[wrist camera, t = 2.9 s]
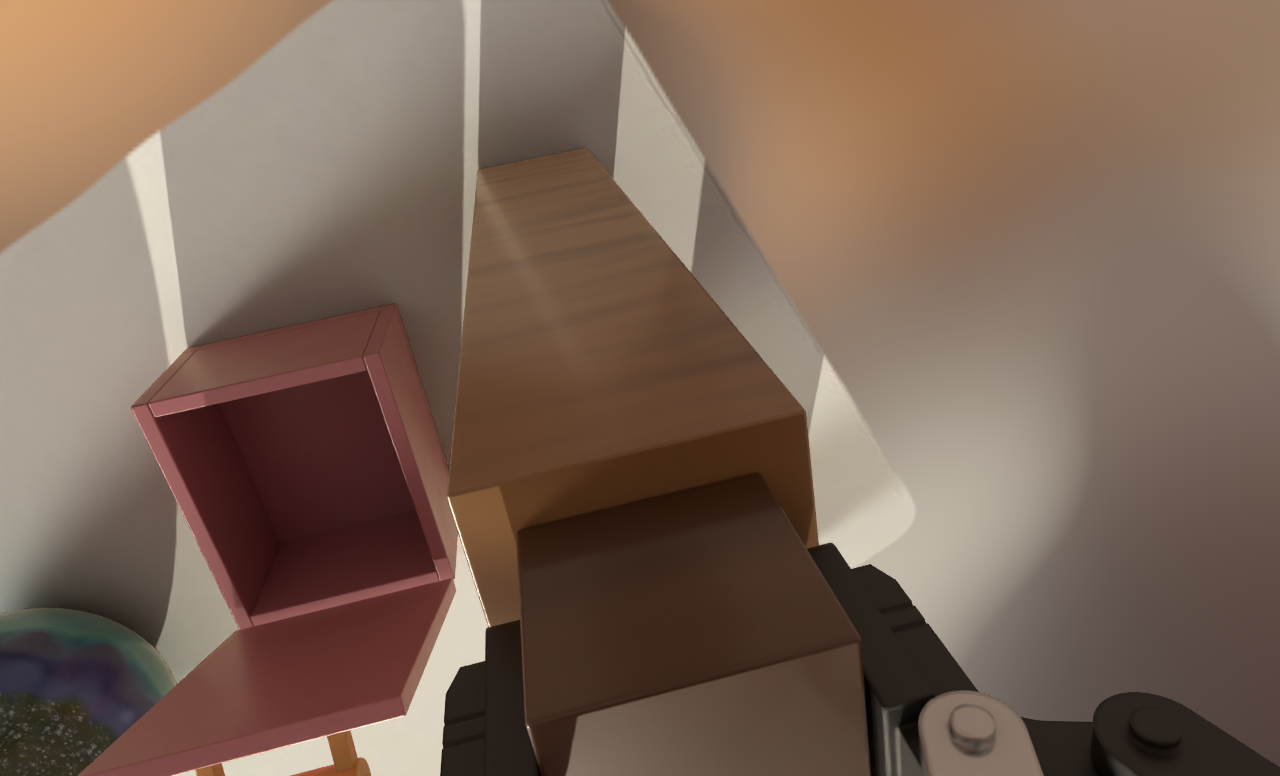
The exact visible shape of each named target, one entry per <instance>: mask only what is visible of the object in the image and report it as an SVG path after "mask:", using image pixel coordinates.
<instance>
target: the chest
mask: <svg viewBox="0 0 1280 776" xmlns="http://www.w3.org/2000/svg"><path fill="white" fill-rule="evenodd" d="M131 409H132V411H133V413H134V415H135V417H136V419H137V421H138V423H139V425H140V427H141V429H142V431H143V433H144V436H145V438H146V440H147V442H148V444H149V446H150V448H151V450H152V452H153V454H154V456H155V458H156V460H157V462H158V464H159V466H160V468H161V470H162V472H163V474H164V476H165V478H166V480H167V482H168V485H169V487H170V489H171V491H172V493H173V495H174V497H175V499H176V501H177V503H178V505H179V507H180V509H181V511H182V513H183V515H184V517H185V519H186V521H187V523H188V525H189V527H190V529H191V531H192V534H193V536H194V538H195V540H196V542H197V544H198V546H199V548H200V550H201V552H202V554H203V556H204V558H205V560H206V562H207V564H208V566H209V568H210V570H211V572H212V574H213V576H214V578H215V580H216V582H217V585H218V587H219V589H220V591H221V593H222V595H223V597H224V599H225V601H226V603H227V605H228V607H229V609H230V611H231V613H232V615H233V617H234V619H235V621H236V623H237V625H238V627H239V629H240V630H241V629H245V628H249V627H253V626H257V625H261V624H266V623H270V622H274V621H278V620H282V619H286V618H290V617H294V616H298V615H302V614H306V613H311V612H315V611H319V610H323V609H327V608H331V607H335V606H339V605H343V604H347V603H352V602H356V601H360V600H364V599H368V598H372V597H376V596H380V595H384V594H388V593H392V592H397V591H401V590H405V589H409V588H413V587H417V586H421V585H425V584H429V583H433V582H438V581H442V580H446V579H450V578H453V579H455V567H456V552H457V537H458V531H457V527H456V524H455V521H454V518H453V515H452V512H451V509H450V506H449V503H448V500H447V488H448V477H449V469H448V465H447V462H446V459H445V456H444V453H443V450H442V446H441V443H440V440H439V437H438V434H437V431H436V427H435V424H434V421H433V418H432V415H431V412H430V408H429V405H428V402H427V399H426V396H425V393H424V389H423V386H422V383H421V380H420V377H419V374H418V370H417V367H416V364H415V361H414V358H413V355H412V351H411V348H410V345H409V342H408V339H407V336H406V332H405V329H404V326H403V323H402V320H401V317H400V313H399V310H398V307H397V304H396V303H395V304H390V305H386V306H381V307H376V308H372V309H367V310H362V311H358V312H353V313H348V314H344V315H339V316H335V317H330V318H325V319H321V320H316V321H311V322H307V323H302V324H297V325H293V326H288V327H284V328H279V329H274V330H270V331H265V332H260V333H256V334H251V335H246V336H242V337H237V338H233V339H228V340H223V341H219V342H214V343H209V344H205V345H200V346H195V347H191V348H187V349H186V350H185V351H184V352H183V353H182V354H181V355H180V356H179V357H178V358H177V359H176V361H175V362H174V363H173V364H172V365H171V366H170V367H169V368H168V369H167V370H166V371H165V372H164V373H163V374H162V375H161V376H160V377H159V378H158V379H157V380H156V381H155V382H154V383H153V384H152V385H151V387H150V388H149V389H148V390H147V391H146V392H145V393H144V394H143V395H142V396H141V397H140V398H139V399H138V400H137V401H136V402H135V403H134V404H133V405H132V406H131Z"/></svg>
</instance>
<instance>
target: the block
mask: <svg viewBox="0 0 1280 776" xmlns="http://www.w3.org/2000/svg"><path fill="white" fill-rule="evenodd" d="M516 548H517V568H518V588H519V608H520V629H521V649H522V669H523V689H524V710H525V726H526V729H527V732H528V735H529V738H530V741H531V744H532V748H533V751H534V754H535V757H536V760H537V763H538V766H539V770H540V773H541V776H871V767H870V754H869V740H868V727H867V713H866V700H865V686H864V673H863V659H862V646H861V637H860V635H859V634H858V632H857V630H856V629H855V627H854V625H853V624H852V622H851V620H850V619H849V617H848V616H847V614H846V612H845V611H844V609H843V607H842V606H841V604H840V602H839V601H838V599H837V598H836V596H835V594H834V593H833V591H832V589H831V588H830V586H829V584H828V583H827V581H826V580H825V578H824V576H823V575H822V573H821V571H820V570H819V568H818V566H817V565H816V563H815V562H814V560H813V558H812V557H811V555H810V553H809V552H808V550H807V548H806V547H805V545H804V544H803V542H802V540H801V539H800V537H799V535H798V534H797V532H796V530H795V529H794V527H793V526H792V524H791V522H790V521H789V519H788V517H787V516H786V514H785V512H784V511H783V509H782V508H781V506H780V504H779V503H778V501H777V499H776V498H775V496H774V494H773V493H772V491H771V490H770V488H769V486H768V485H767V483H766V481H765V480H764V478H763V476H762V475H761V474H760V473H753V474H748V475H744V476H740V477H736V478H732V479H728V480H724V481H719V482H715V483H711V484H707V485H703V486H699V487H694V488H690V489H686V490H682V491H678V492H674V493H670V494H665V495H661V496H657V497H653V498H649V499H645V500H641V501H636V502H632V503H628V504H624V505H620V506H616V507H612V508H607V509H603V510H599V511H595V512H591V513H587V514H582V515H578V516H574V517H570V518H566V519H562V520H558V521H553V522H549V523H545V524H541V525H537V526H533V527H529V528H524V529H520V530H519V531H517V533H516Z"/></svg>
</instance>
